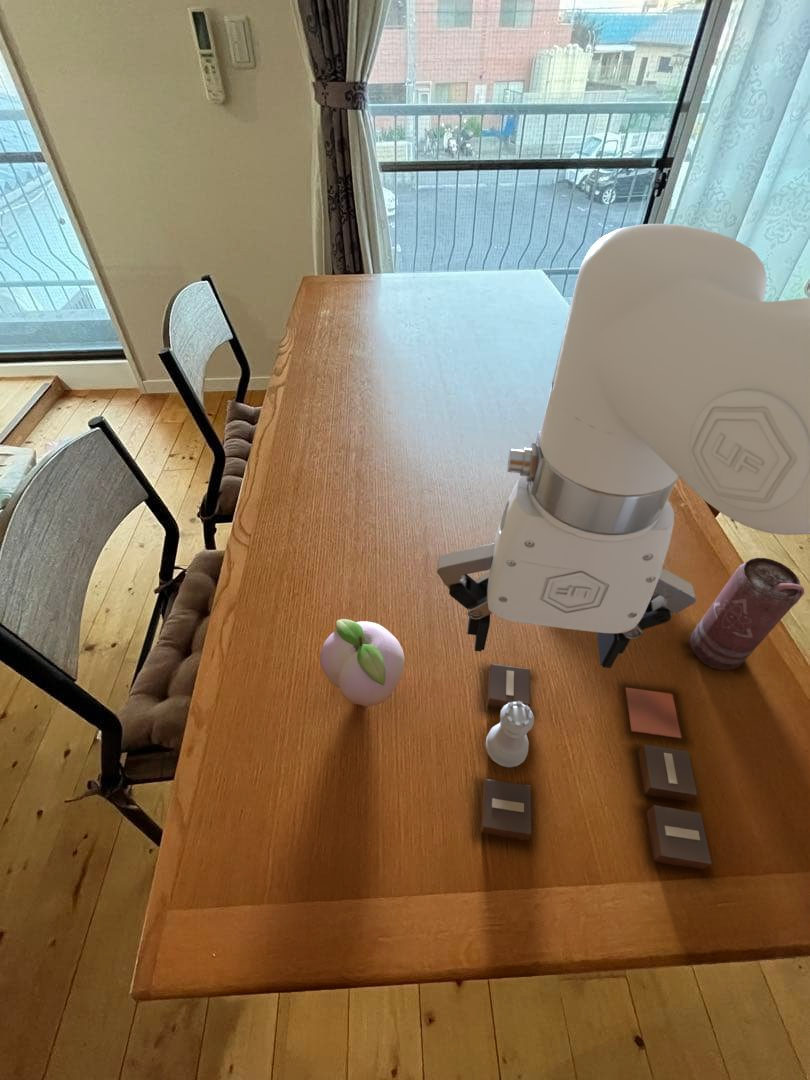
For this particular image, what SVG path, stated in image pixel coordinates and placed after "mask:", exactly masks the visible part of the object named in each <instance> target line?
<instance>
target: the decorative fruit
mask: <svg viewBox="0 0 810 1080" xmlns="http://www.w3.org/2000/svg"><path fill="white" fill-rule="evenodd" d="M319 665H320V667H321V670H322V672H323V674H324V675H325V677H326V678H327V679H328V680H329V682H330V683H331V684H332V685H333V686H334V687H336V688H338V689H339V690H340V692H341V694H342V695H343V697H344V698H345V699H347V700H348V701H350V702H352V703H353V704H356V705H359V706H364V707H371V706H376V705H380V704H381V703H384V702H385V701H386V700H388V699H389V698H390V697H391V695H392V694H393V693H394V692H395V690H396V688H397V687H398V685H399V683H400V681H401V679H402V676H403V673H404V670H405V655H404V651H403V648H402V645H401V643H400V642H399V641H398V639H397V638H396V637H395V636H394V634H393V633H391V631H389V630H388V629H386V628H385V627H384V626H382V625H381V624H379V623H377V622H373V621H372V622H371V621H366V620H365V621H364V620H360V621H354V620H352V619H347V618H340V619H337V620H336V622H335V630H334V631H333V632H332V633H331V634H330V635H329V636H328V637H327V638H326V640H325V641H324V643H323V644H322V647H321V649H320V653H319Z"/></svg>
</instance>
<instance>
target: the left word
mask: <svg viewBox="0 0 810 1080" xmlns="http://www.w3.org/2000/svg"><path fill="white" fill-rule="evenodd" d="M530 672H531V671H530V668H524V667H517V666H510V665H504V664H503V665H502V664H495V663H490V666H489V669H488V678H487V679H488V680H487V696H486V697H487V701H486V707H487V708H493V709H498V710H502V708H503V707H504V706H505V705H506V704H508V703H511V702H517V701H521V702H522V704H524V705H528V706H529V707H530V706H531V679H530V678H531V674H530ZM480 834H483V835H488V836H489V835H490V836H495V837H502V838H508V839H513V840H514V839H515V840H519V841H520V840H521V841H528V840H529V839H530V837H531V836H532V787H531V785H527V784H520V783H515V782H508V781H501V780H494V779H488V778H485V780H484V783H483V786H482V802H481V823H480Z"/></svg>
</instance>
